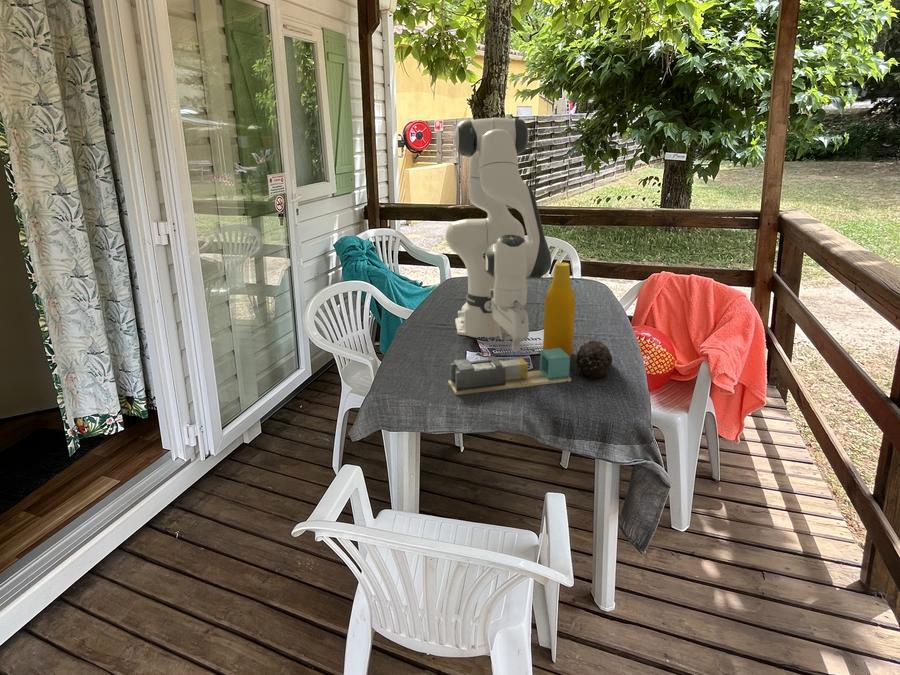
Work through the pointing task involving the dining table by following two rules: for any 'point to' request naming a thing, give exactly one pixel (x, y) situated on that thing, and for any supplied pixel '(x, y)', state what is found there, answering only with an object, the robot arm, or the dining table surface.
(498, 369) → the sleeve
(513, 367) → the slip tube
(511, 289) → the robot arm
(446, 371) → the dining table surface
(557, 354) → the teal cube
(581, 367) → the pine cone
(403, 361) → the dining table surface
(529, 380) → the board
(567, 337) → the beer bottle
